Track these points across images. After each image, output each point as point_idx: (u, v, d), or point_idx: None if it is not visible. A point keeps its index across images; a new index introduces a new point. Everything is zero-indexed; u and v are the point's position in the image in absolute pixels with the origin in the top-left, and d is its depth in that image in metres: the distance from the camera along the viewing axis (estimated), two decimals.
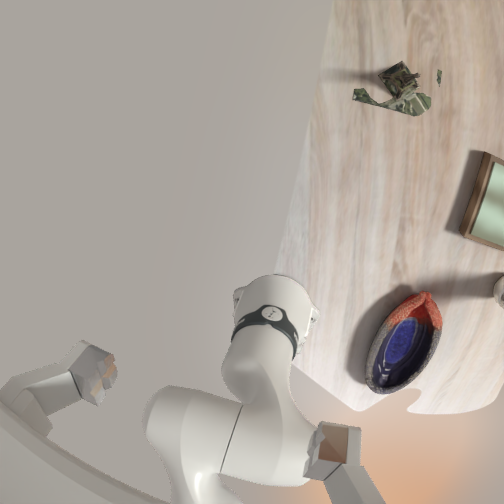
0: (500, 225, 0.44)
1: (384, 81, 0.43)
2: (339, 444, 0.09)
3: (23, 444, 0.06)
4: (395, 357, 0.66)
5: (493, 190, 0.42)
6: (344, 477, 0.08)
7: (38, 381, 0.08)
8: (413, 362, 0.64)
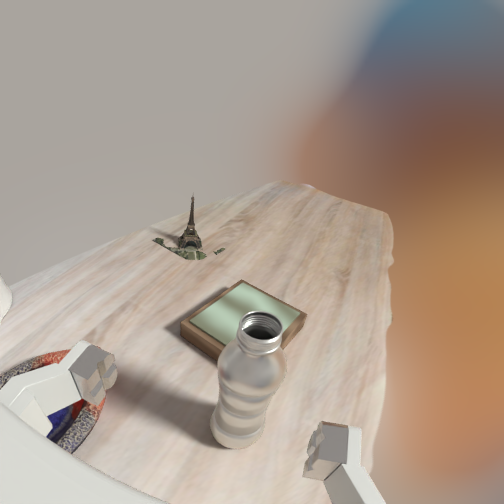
0: (233, 327, 0.47)
1: (179, 240, 0.74)
2: (339, 444, 0.09)
3: (23, 444, 0.06)
4: None
5: (232, 298, 0.53)
6: (344, 477, 0.08)
7: (39, 381, 0.08)
8: None
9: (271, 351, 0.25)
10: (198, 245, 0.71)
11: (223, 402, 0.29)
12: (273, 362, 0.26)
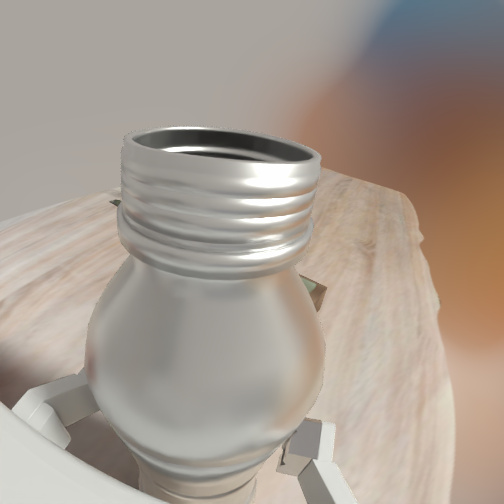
0: None
1: None
2: (311, 439, 0.09)
3: (23, 444, 0.06)
4: None
5: None
6: (315, 473, 0.08)
7: (57, 393, 0.08)
8: None
9: (270, 254, 0.05)
10: None
11: (133, 455, 0.09)
12: (280, 326, 0.06)
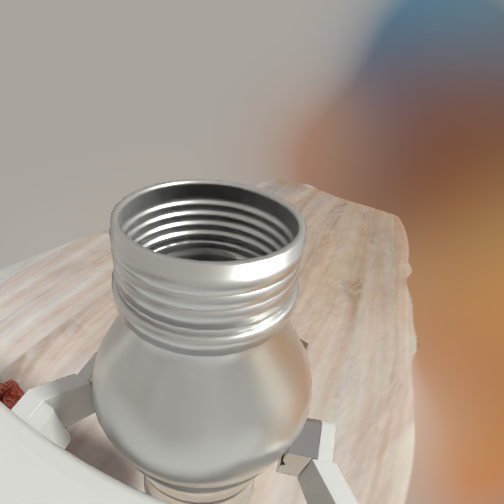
0: None
1: None
2: (311, 439, 0.09)
3: (23, 444, 0.06)
4: None
5: None
6: (315, 473, 0.08)
7: (57, 393, 0.08)
8: None
9: (254, 332, 0.05)
10: None
11: None
12: (266, 380, 0.06)
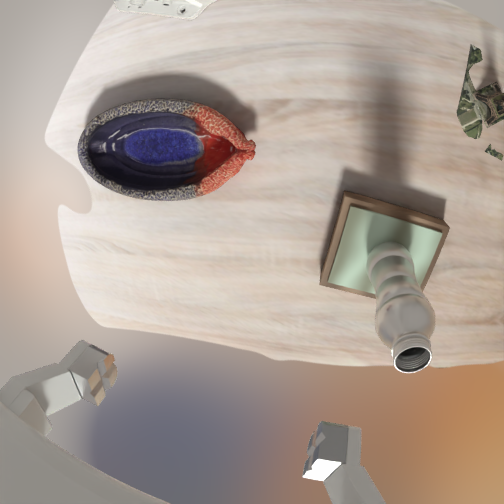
0: (363, 251, 0.42)
1: (491, 86, 0.29)
2: (339, 444, 0.09)
3: (23, 444, 0.06)
4: (134, 149, 0.47)
5: (409, 233, 0.39)
6: (344, 477, 0.08)
7: (38, 381, 0.08)
8: (133, 178, 0.48)
9: None
10: (489, 121, 0.31)
11: (377, 294, 0.33)
12: None
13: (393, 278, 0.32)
